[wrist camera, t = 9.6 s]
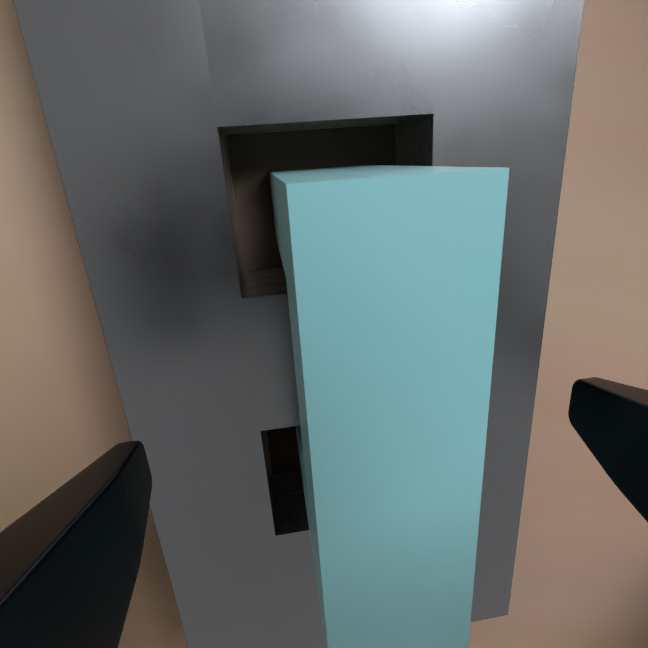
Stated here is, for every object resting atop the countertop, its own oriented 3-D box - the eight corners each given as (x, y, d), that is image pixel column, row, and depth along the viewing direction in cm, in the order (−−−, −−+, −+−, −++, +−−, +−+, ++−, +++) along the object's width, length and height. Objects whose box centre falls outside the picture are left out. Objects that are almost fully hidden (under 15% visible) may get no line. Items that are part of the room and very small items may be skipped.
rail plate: (525, -140, 11) (614, -241, 8) (472, 550, 20) (507, 614, 17) (30, -143, 10) (-59, -264, 7) (205, 599, 18) (196, 676, 16)
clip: (367, 165, 13) (509, 167, 6) (374, 438, 17) (467, 656, 9) (269, 171, 13) (286, 183, 5) (297, 449, 16) (331, 684, 9)
